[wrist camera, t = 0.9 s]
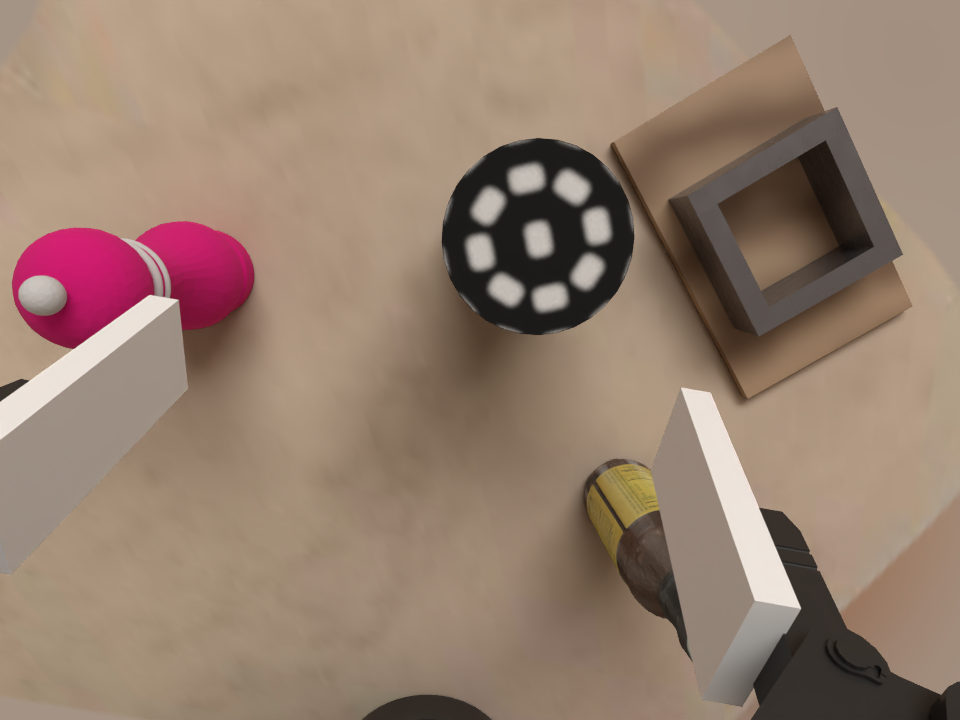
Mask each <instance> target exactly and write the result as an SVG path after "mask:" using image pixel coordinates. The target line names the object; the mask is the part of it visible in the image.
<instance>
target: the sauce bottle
mask: <svg viewBox="0 0 960 720" xmlns="http://www.w3.org/2000/svg"><path fill="white" fill-rule="evenodd" d="M585 506H586V509H587V511H588V514H589V517H590V519H591V521H592V523H593V525H594V527H595V529H596V530H597V532H598V534H599V536H600V538H601V540H602V542H603V544H604V545H605V547H606V549H607V551H608V553H609V555H610V557H611V559H612V561H613V562H614V564H615V566H616V568H617V570H618V572H619V574H620V576H621V577H622V579H623V581H624V582H625V583H626V584H627V585H628V587H629V588H630V591H631V593H632V594H633V596H634V597H635V599H636V600H637V601H638V602H639V603H640V604H641V605H642V606H643V607H644V608H645V609H646V610H648V611H649V612H651V613H653V614H654V615H656V616H659V617H662V618H666V619H668V620H669V621H670V622H671V623H672V624H673V625H674V627H675V629H676V630H677V634H678V638H679V641H680V644H681V646H682V648H683V649H684V651H685V652H686V653H687V655H688V656H689V658H690V659H691V661H692V662H693V660H692V655H691V651H690V646H689V642H688V637H687V632H686V628H685V623H684V619H683V614H682V610H681V605H680V601H679V596H678V592H677V587H676V582H675V578H674V573H673V569H672V564H671V560H670V555H669V551H668V546H667V542H666V537H665V532H664V528H663V523H662V519H661V514H660V510H659V505H658V501H657V496H656V492H655V487H654V482H653V478H652V473H651V471H650V470H649V469H648V468H647V467H646V466H645V465H643V464H641V463H639V462H636V461H632V460H626V459H613V460H610V461H607V462H606V463H604V464H603V465H601V466H600V467H598V468H597V469H596V470H595V471H594V472H593V473H592V474H591V475H590V477H589V478H588V480H587V483H586V488H585Z"/></svg>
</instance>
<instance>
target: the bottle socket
mask: <svg viewBox="0 0 960 720" xmlns="http://www.w3.org/2000/svg"><path fill="white" fill-rule="evenodd" d="M796 157H798V158H799V161H800V163H801V165H802V167H803V169H804V171H805V174H806V176H807V178H808V180H809V182H810V184H811V186H812V189H813V191H814V193H815V195H816V197H817V199H818V202H819V204H820V206H821V208H822V210H823V212H824V214H825V217H826V219H827V221H828V223H829V225H830V227H831V229H832V232H833V234H834V236H835V238H836V240H837V242H838V245H839V247H837V248H835V249H833V250H832V251H830V252H828V253H826V254H825V255H823V256H821V257H819V258H818V259H816V260H814V261H813V262H811V263H809V264H807V265H806V266H804V267H802V268H800V269H799V270H797V271H795V272H793V273H792V274H790V275H788V276H786V277H785V278H783V279H781V280H779V281H778V282H776V283H774V284H772V285H771V286H769V287H767V288H766V289H764V290H762V291H761V290H760V288H759V286H758V284H757V282H756V280H755V278H754V276H753V274H752V272H751V270H750V268H749V266H748V264H747V262H746V260H745V258H744V256H743V254H742V252H741V250H740V248H739V246H738V244H737V242H736V240H735V238H734V236H733V234H732V232H731V230H730V228H729V226H728V224H727V222H726V220H725V218H724V216H723V214H722V212H721V210H720V208H719V206H718V203H720V202H722V201H723V200H725V199H727V198H728V197H730V196H732V195H734V194H735V193H737V192H739V191H740V190H742V189H744V188H745V187H747V186H749V185H751V184H752V183H754V182H756V181H757V180H759V179H761V178H762V177H764V176H766V175H767V174H769V173H771V172H773V171H774V170H776V169H778V168H779V167H781V166H783V165H784V164H786V163H788V162H790V161H791V160H793V159H795V158H796ZM668 201H669V202H670V204H671V206H672V208H673V210H674V212H675V214H676V216H677V218H678V220H679V222H680V224H681V226H682V228H683V230H684V232H685V234H686V236H687V238H688V240H689V241H690V243H691V245H692V247H693V249H694V251H695V253H696V255H697V257H698V259H699V261H700V263H701V265H702V267H703V269H704V271H705V273H706V275H707V277H708V279H709V280H710V282H711V284H712V286H713V288H714V290H715V292H716V294H717V296H718V298H719V300H720V302H721V304H722V306H723V308H724V310H725V312H726V314H727V316H728V317H729V319H730V321H731V323H732V325H733V327H734V329H737V330H740V331H743V332H746V333H749V334H752V335H756V336H761V335H762V334H764V333H766V332H768V331H770V330H771V329H773V328H775V327H777V326H778V325H780V324H782V323H784V322H785V321H787V320H789V319H791V318H792V317H794V316H796V315H798V314H799V313H801V312H803V311H805V310H806V309H808V308H810V307H812V306H813V305H815V304H817V303H819V302H821V301H822V300H824V299H826V298H828V297H829V296H831V295H833V294H835V293H836V292H838V291H840V290H842V289H843V288H845V287H847V286H849V285H850V284H852V283H854V282H856V281H857V280H859V279H861V278H863V277H864V276H866V275H868V274H870V273H871V272H873V271H875V270H877V269H879V268H880V267H882V266H884V265H886V264H887V263H889V262H891V261H893V260H894V259H896V258H898V257H900V256H901V255H903V254H902V251H901V249H900V247H899V245H898V243H897V240H896V238H895V236H894V234H893V231H892V229H891V227H890V225H889V222H888V220H887V218H886V216H885V213H884V211H883V209H882V207H881V204H880V202H879V200H878V198H877V195H876V193H875V191H874V189H873V186H872V184H871V182H870V180H869V177H868V175H867V173H866V171H865V169H864V166H863V164H862V162H861V160H860V157H859V155H858V153H857V150H856V148H855V146H854V144H853V142H852V139H851V137H850V135H849V133H848V130H847V128H846V126H845V124H844V121H843V119H842V117H841V115H840V112H839V110H838V108H837V107H836V108H833V109H830V110H827V111H824V112H822V113H819V114H816V115H813V116H810V117H807V118H804V119H803V120H801V121H799V122H798V123H796V124H794V125H793V126H791V127H789V128H787V129H786V130H784V131H782V132H781V133H779V134H777V135H776V136H774V137H772V138H771V139H769V140H767V141H766V142H764V143H762V144H760V145H759V146H757V147H755V148H754V149H752V150H750V151H749V152H747V153H745V154H744V155H742V156H740V157H739V158H737V159H735V160H734V161H732V162H730V163H728V164H727V165H725V166H723V167H722V168H720V169H718V170H717V171H715V172H713V173H712V174H710V175H708V176H707V177H705V178H703V179H701V180H700V181H698V182H696V183H695V184H693V185H691V186H690V187H688V188H686V189H685V190H683V191H681V192H680V193H678V194H676V195H675V196H673V197H671V198H669V199H668Z"/></svg>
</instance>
